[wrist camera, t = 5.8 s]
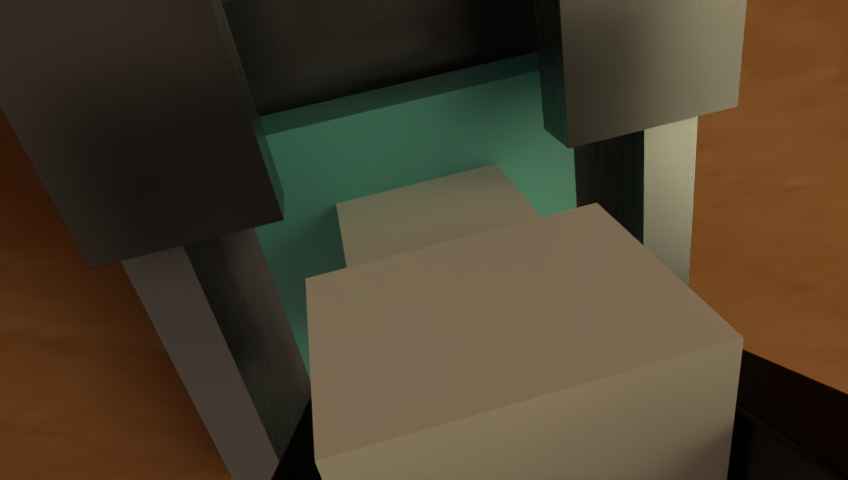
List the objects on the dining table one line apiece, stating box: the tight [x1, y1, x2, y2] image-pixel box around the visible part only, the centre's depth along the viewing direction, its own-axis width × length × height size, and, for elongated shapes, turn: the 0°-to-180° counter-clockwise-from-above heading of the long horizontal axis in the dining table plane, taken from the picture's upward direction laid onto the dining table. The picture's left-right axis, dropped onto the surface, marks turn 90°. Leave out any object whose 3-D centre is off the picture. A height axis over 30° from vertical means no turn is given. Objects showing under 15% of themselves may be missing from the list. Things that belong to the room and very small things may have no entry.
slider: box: [254, 51, 744, 480], centre depth 9 cm, size 6×6×7 cm
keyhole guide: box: [0, 0, 747, 480], centre depth 11 cm, size 18×11×4 cm, turn 10°
